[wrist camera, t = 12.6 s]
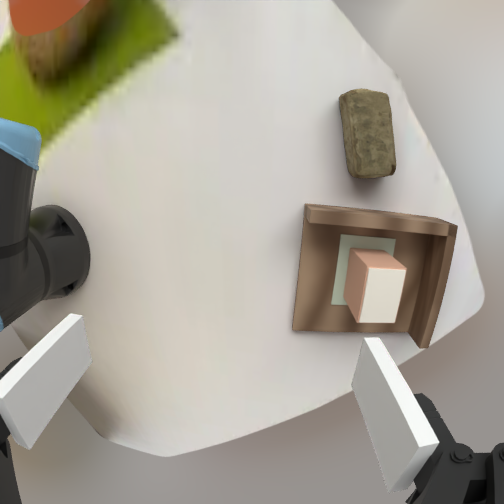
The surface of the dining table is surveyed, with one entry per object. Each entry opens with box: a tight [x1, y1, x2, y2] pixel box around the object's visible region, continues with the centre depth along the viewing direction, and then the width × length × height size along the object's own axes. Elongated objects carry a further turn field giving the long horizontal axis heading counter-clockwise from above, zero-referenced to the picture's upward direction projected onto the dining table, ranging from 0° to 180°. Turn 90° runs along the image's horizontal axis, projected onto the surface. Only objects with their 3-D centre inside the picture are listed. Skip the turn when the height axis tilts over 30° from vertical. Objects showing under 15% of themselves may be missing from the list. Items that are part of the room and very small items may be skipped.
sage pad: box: [331, 234, 396, 305], centre depth 42 cm, size 8×10×1 cm
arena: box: [292, 204, 458, 348], centre depth 40 cm, size 20×18×6 cm
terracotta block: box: [343, 248, 407, 323], centre depth 38 cm, size 7×5×8 cm
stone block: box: [339, 89, 396, 178], centre depth 36 cm, size 6×12×5 cm, turn 7°
